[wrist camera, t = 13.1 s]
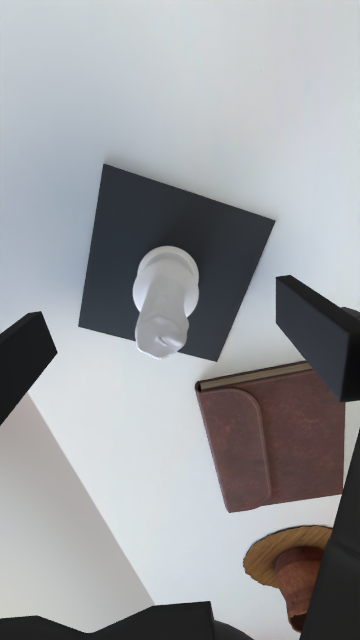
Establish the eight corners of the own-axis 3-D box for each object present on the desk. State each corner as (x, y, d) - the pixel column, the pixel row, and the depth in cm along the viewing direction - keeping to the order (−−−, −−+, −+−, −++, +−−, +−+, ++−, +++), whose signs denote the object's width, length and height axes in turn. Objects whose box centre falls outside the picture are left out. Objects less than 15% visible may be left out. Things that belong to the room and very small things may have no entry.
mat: (78, 325, 25) (78, 326, 25) (104, 163, 20) (103, 163, 20) (216, 361, 27) (216, 362, 27) (274, 220, 22) (275, 220, 21)
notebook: (340, 354, 27) (352, 365, 25) (338, 481, 34) (347, 497, 33) (194, 381, 28) (195, 394, 26) (224, 498, 36) (226, 514, 34)
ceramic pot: (221, 552, 41) (228, 617, 35) (327, 509, 37) (358, 574, 30) (277, 597, 47) (292, 660, 40) (374, 564, 43) (409, 629, 36)
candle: (205, 253, 22) (230, 301, 11) (191, 310, 24) (200, 398, 13) (142, 239, 22) (105, 276, 11) (133, 299, 24) (95, 380, 13)
